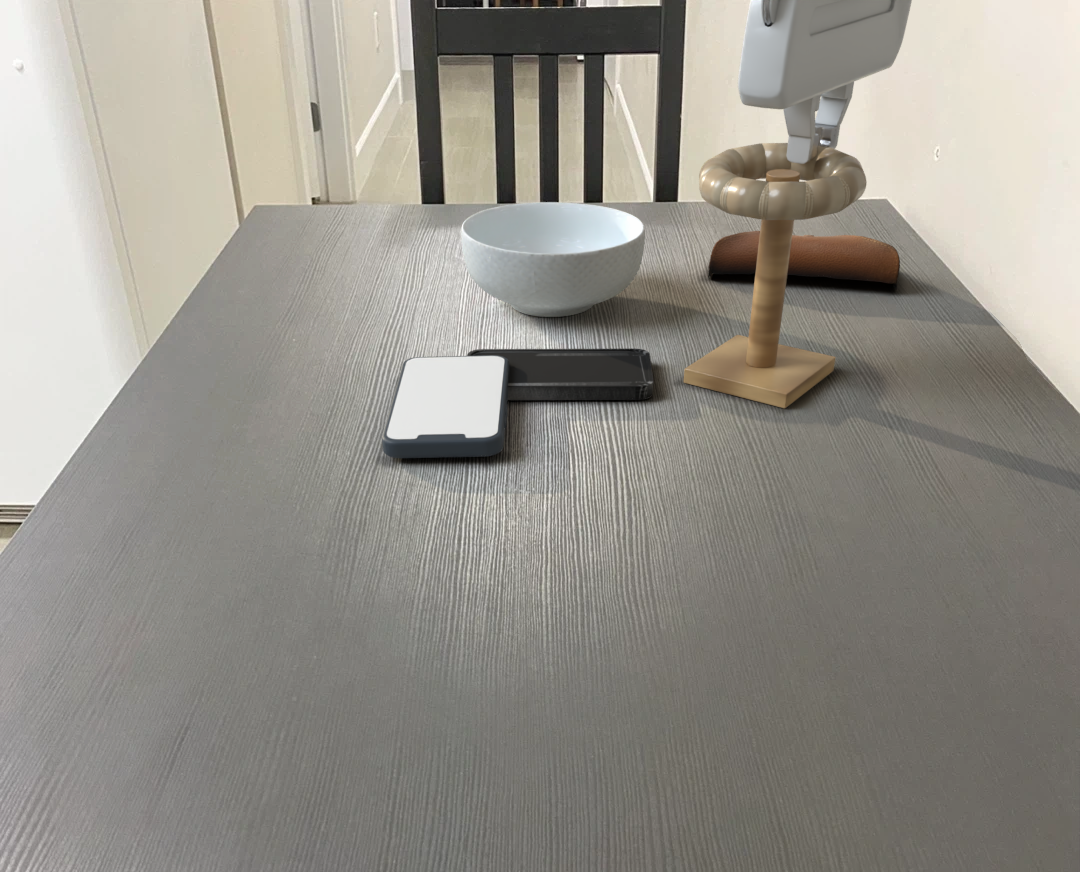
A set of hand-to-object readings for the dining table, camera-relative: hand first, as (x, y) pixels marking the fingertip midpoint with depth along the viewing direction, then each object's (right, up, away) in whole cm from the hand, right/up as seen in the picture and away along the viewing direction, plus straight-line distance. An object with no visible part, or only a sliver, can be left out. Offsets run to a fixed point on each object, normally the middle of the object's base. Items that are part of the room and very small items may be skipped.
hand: (811, 156), depth 82 cm
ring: (-3, -3, -2) cm, 5 cm away
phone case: (-27, -19, +2) cm, 33 cm away
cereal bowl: (-19, -3, +21) cm, 29 cm away
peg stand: (-3, -14, +7) cm, 16 cm away
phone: (-19, -15, +7) cm, 25 cm away
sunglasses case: (+6, +2, +26) cm, 27 cm away
